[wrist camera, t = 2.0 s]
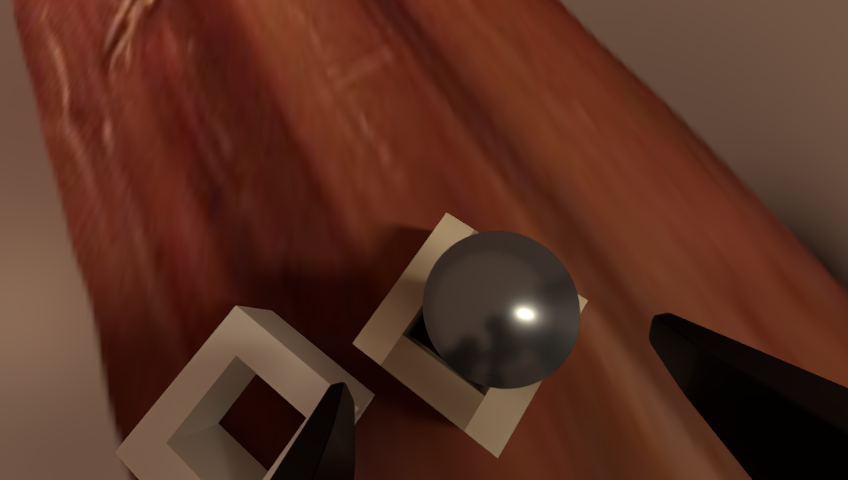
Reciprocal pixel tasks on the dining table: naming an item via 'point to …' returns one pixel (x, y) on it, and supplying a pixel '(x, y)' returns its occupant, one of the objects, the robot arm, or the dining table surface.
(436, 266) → the grey metal rod
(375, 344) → the beige square frame block
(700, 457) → the dining table surface
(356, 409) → the socket block
